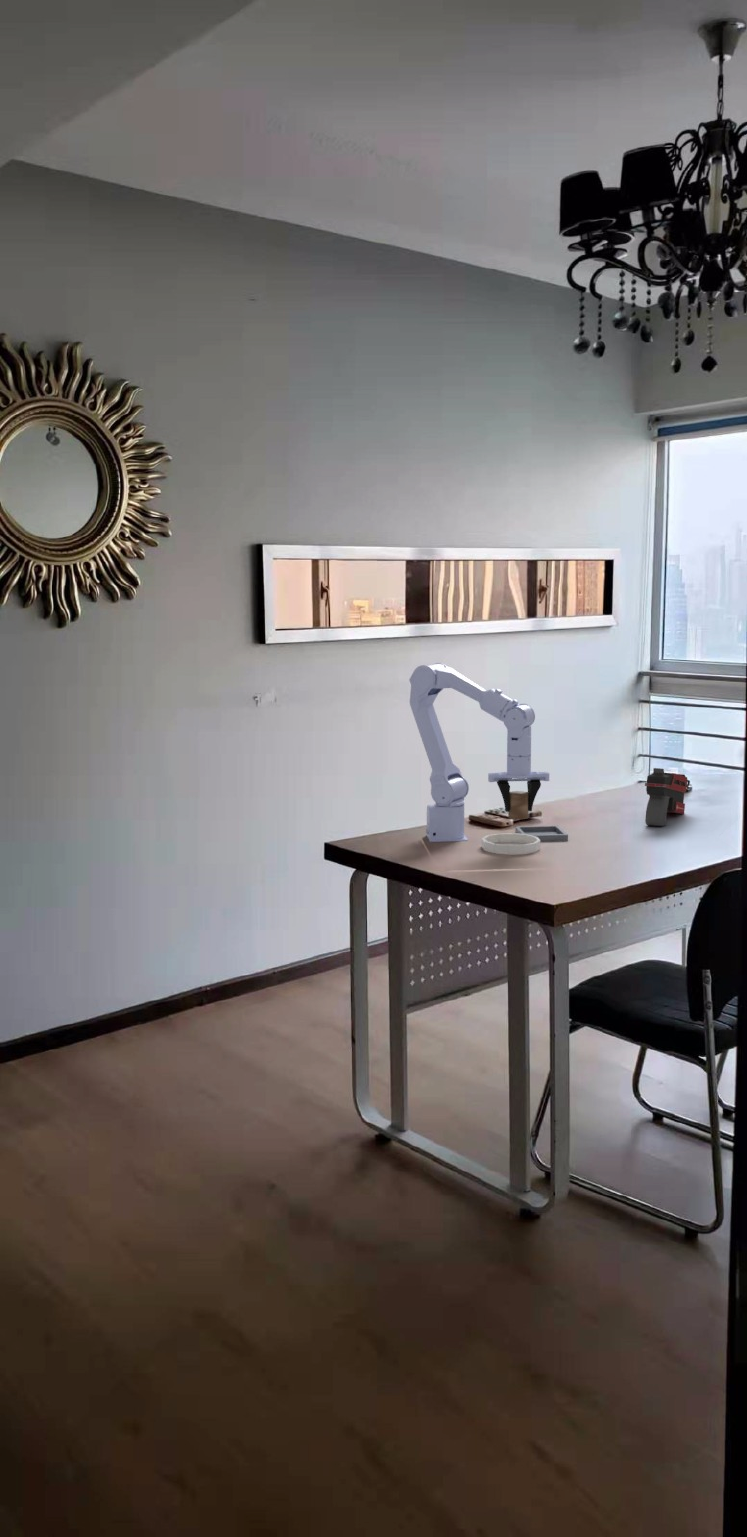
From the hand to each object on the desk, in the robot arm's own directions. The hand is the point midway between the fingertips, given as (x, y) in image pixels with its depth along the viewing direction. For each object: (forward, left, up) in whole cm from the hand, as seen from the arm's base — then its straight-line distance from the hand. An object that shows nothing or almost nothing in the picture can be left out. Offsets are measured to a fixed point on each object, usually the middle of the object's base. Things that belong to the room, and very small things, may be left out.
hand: (518, 810), depth 289 cm
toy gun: (+46, +28, -9) cm, 55 cm away
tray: (+8, +9, -9) cm, 15 cm away
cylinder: (0, 0, -2) cm, 2 cm away
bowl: (-2, -3, -9) cm, 10 cm away
